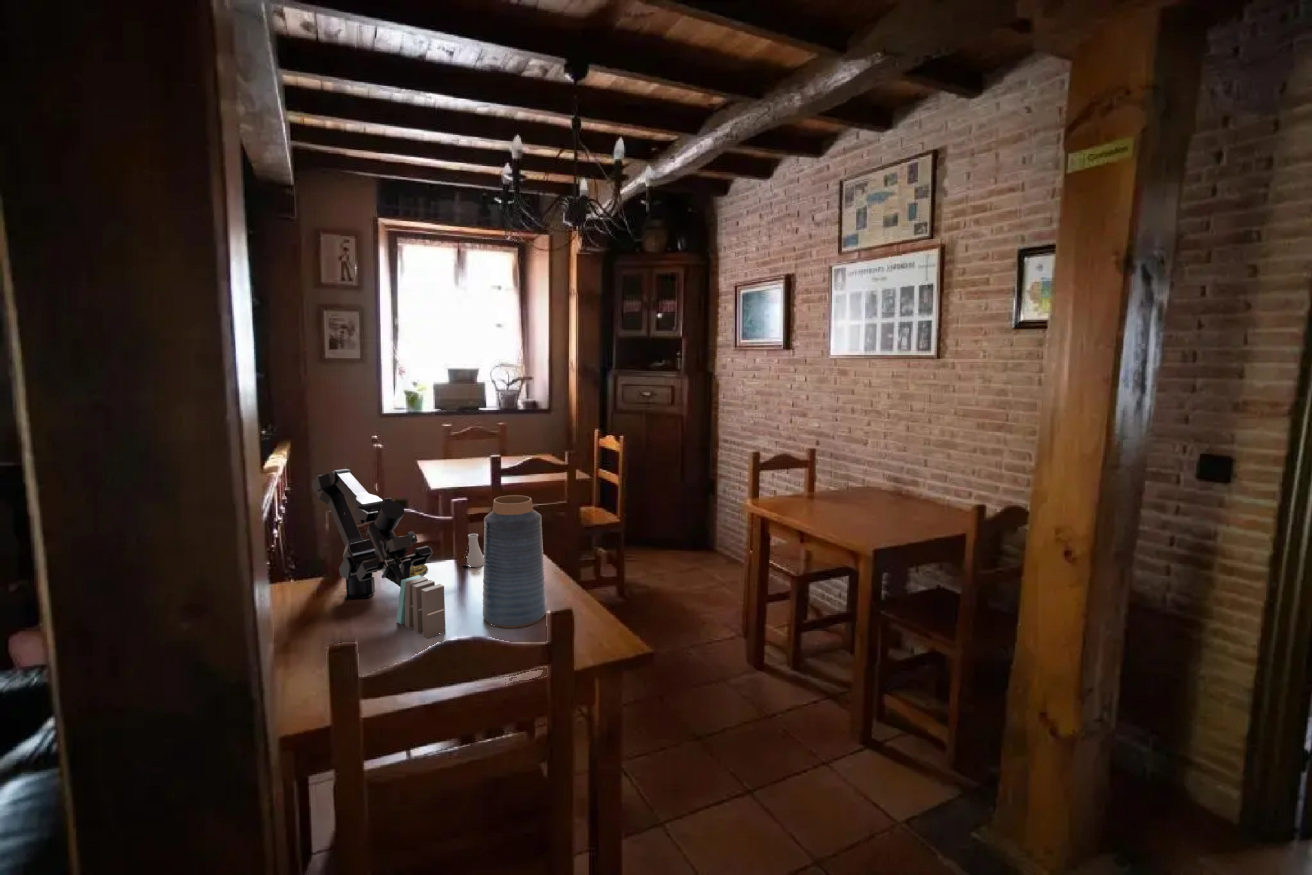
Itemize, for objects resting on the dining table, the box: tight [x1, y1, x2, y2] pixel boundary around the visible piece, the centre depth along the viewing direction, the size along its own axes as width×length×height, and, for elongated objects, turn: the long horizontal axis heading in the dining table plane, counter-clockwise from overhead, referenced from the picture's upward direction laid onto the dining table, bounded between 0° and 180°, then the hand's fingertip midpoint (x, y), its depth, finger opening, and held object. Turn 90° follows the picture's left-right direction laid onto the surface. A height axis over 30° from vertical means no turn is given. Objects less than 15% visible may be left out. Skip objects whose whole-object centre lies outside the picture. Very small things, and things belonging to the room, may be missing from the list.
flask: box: [466, 533, 484, 569], centre depth 212 cm, size 7×7×10 cm
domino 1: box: [404, 576, 429, 630], centre depth 165 cm, size 2×5×12 cm, turn 140°
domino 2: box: [412, 579, 436, 635], centre depth 163 cm, size 2×5×12 cm, turn 140°
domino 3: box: [421, 583, 446, 639], centre depth 160 cm, size 2×5×12 cm, turn 140°
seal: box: [410, 564, 429, 577], centre depth 205 cm, size 9×5×15 cm
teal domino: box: [396, 575, 421, 625], centre depth 167 cm, size 2×5×12 cm, turn 140°
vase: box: [482, 494, 547, 629], centre depth 170 cm, size 16×16×32 cm
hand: (408, 590), depth 167 cm, fingers closed
